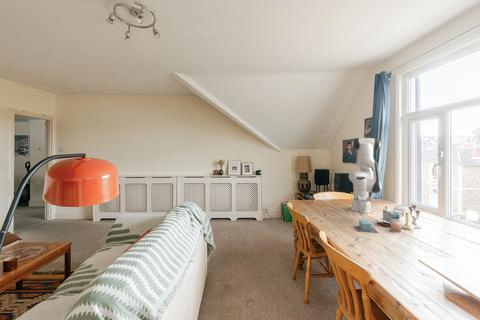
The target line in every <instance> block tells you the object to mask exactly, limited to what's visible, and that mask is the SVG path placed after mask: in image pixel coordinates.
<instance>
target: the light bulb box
mask: <svg viewBox="0 0 480 320" xmlns="http://www.w3.org/2000/svg"><path fill="white" fill-rule="evenodd" d="M383 220H385V221H387V222H389V223H390V224H391V221H395V222H399V223H401V221H400V220H401V213H400V212H399V211H397V210H394V209H392V208H383V209H382V221H383Z"/></svg>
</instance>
